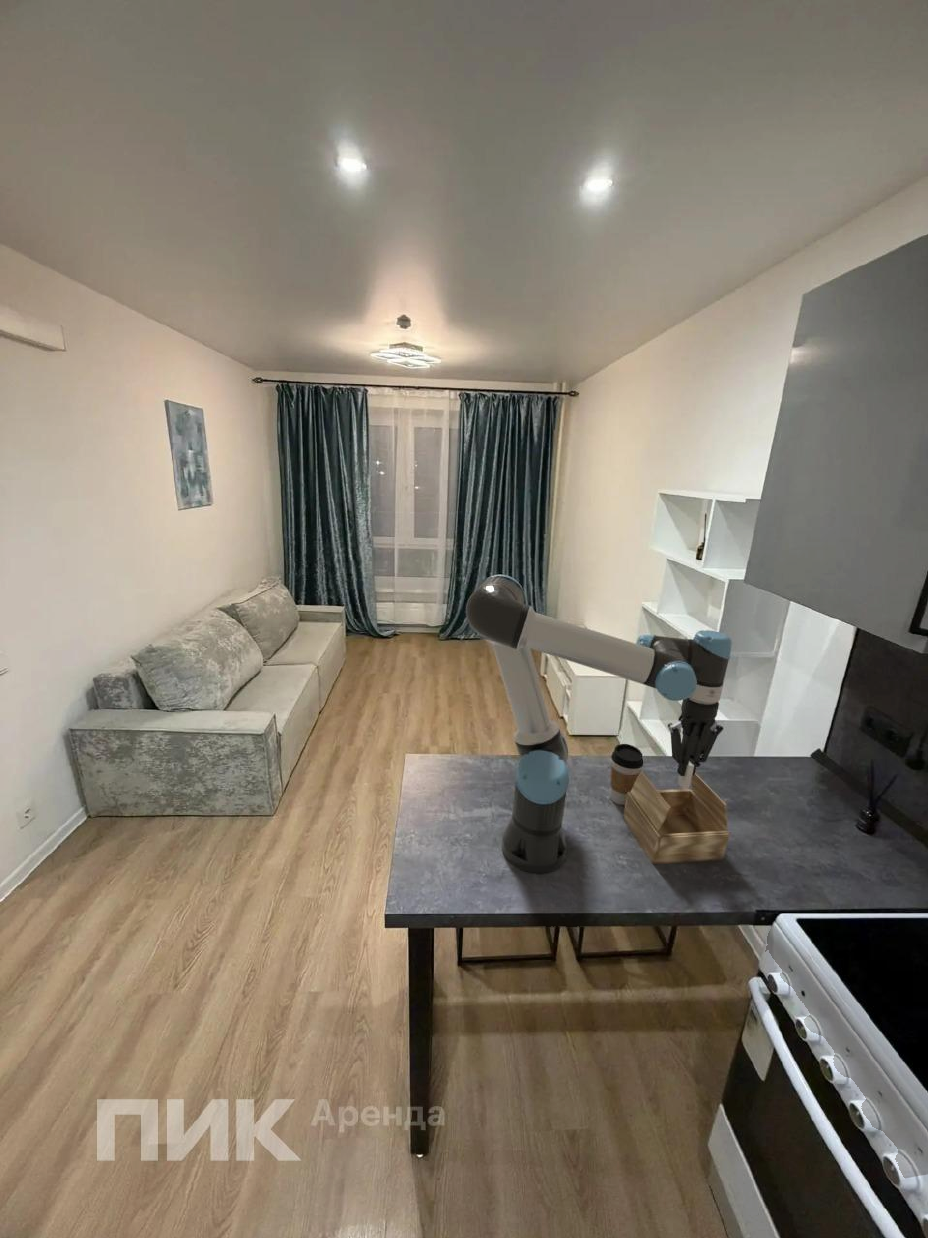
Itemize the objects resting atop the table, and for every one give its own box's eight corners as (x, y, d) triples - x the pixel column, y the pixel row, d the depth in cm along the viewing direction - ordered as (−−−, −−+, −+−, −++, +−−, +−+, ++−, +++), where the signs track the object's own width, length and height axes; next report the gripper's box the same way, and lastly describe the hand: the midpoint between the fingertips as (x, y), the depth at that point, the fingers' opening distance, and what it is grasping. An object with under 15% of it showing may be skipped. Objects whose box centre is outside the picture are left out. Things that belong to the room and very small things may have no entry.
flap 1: (657, 830, 115) (669, 807, 114) (630, 792, 128) (640, 771, 127) (659, 830, 115) (671, 807, 114) (631, 792, 128) (641, 771, 127)
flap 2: (725, 827, 118) (725, 805, 116) (691, 790, 131) (690, 769, 129) (727, 826, 118) (726, 804, 116) (693, 789, 131) (692, 769, 129)
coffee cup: (632, 790, 144) (640, 744, 139) (639, 809, 135) (648, 761, 131) (602, 787, 144) (610, 741, 140) (607, 806, 136) (615, 758, 132)
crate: (653, 866, 116) (659, 837, 114) (622, 817, 132) (626, 791, 130) (724, 861, 119) (731, 833, 117) (684, 813, 135) (690, 788, 133)
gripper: (684, 706, 110) (666, 797, 117) (738, 704, 111) (717, 794, 118) (666, 691, 117) (650, 778, 124) (717, 690, 119) (698, 775, 126)
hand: (683, 786), depth 121 cm, fingers closed
